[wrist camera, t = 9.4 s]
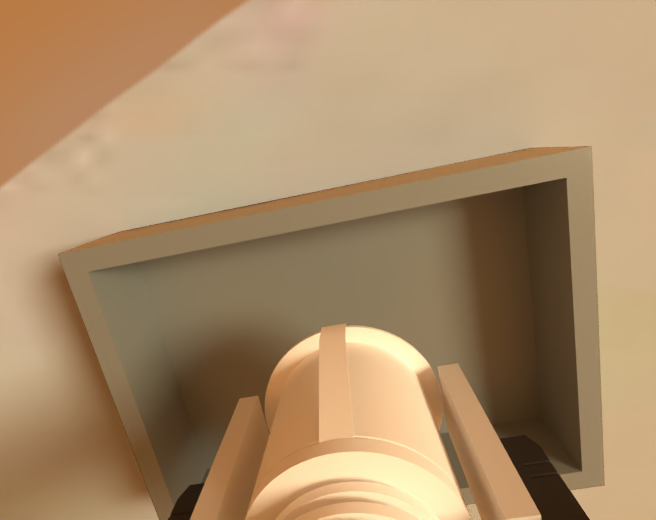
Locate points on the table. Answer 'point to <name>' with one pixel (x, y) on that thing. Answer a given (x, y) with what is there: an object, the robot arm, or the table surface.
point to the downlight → (355, 433)
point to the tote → (359, 304)
